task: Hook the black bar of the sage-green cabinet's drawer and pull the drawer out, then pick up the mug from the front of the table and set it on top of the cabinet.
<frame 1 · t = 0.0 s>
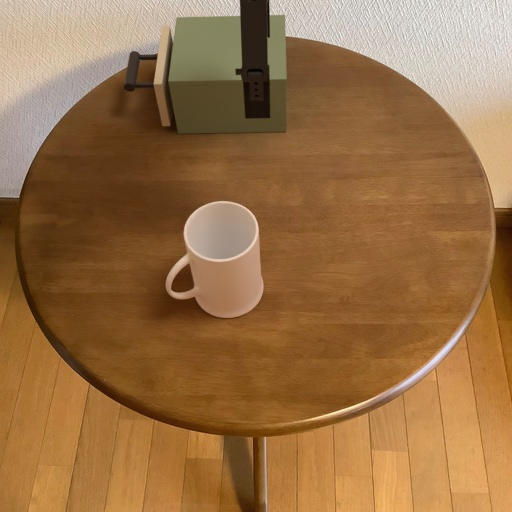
hand: (258, 74, 72), 18 cm above the table, tool pointing down, fingers open, 13 cm apart
mug: (217, 294, 77), on the table
cabinet: (233, 100, 96), on the table
drawer: (194, 75, 92), point 5 cm above the table, slide at 1.0 cm
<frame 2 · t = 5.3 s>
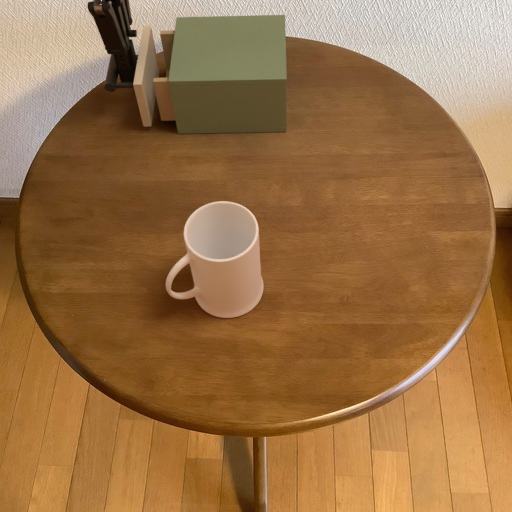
hand: (130, 79, 93), 4 cm above the table, tool pointing down, fingers closed
drawer: (175, 75, 92), point 5 cm above the table, slide at 3.8 cm, touching gripper
everything else where it was.
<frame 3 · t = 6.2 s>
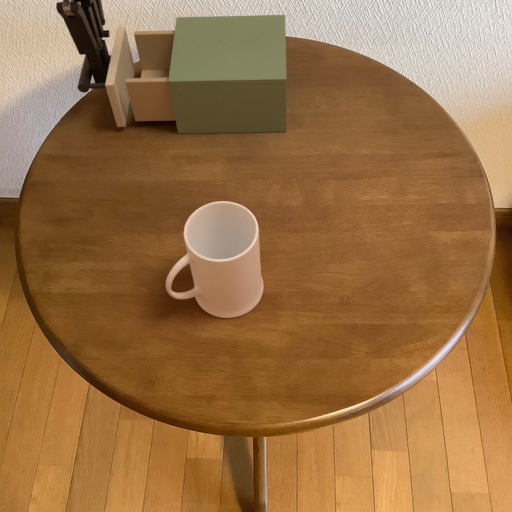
hand: (105, 80, 93), 4 cm above the table, tool pointing down, fingers closed
drawer: (149, 76, 92), point 5 cm above the table, slide at 7.6 cm, touching gripper
everything else where it was.
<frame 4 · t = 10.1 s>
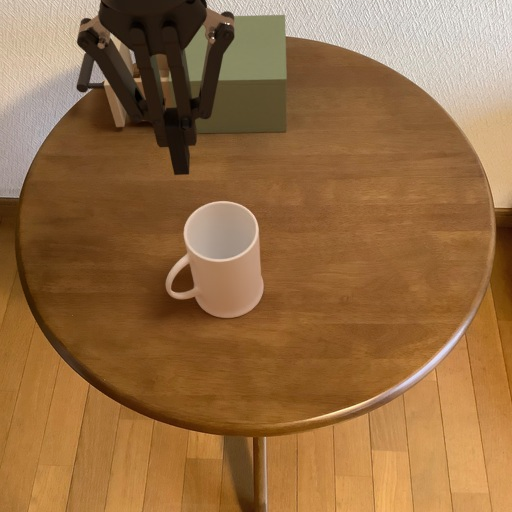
hand: (182, 164, 64), 18 cm above the table, tool pointing down, fingers closed
drawer: (148, 76, 92), point 5 cm above the table, slide at 7.8 cm
everything else where it was.
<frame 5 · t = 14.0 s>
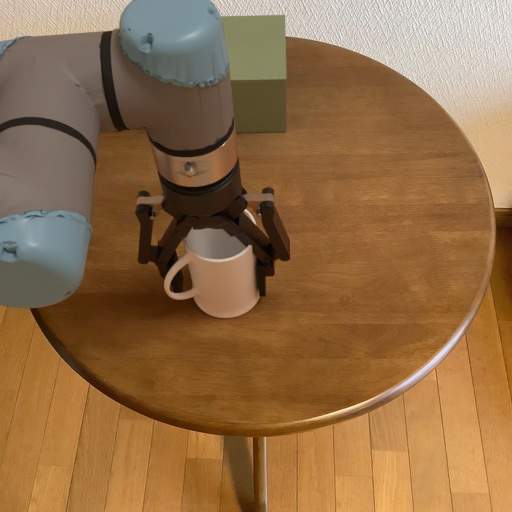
hand: (220, 287, 76), 1 cm above the table, tool pointing down, fingers closed on mug, 9 cm apart
mug: (215, 294, 77), on the table, touching gripper
everything else where it was.
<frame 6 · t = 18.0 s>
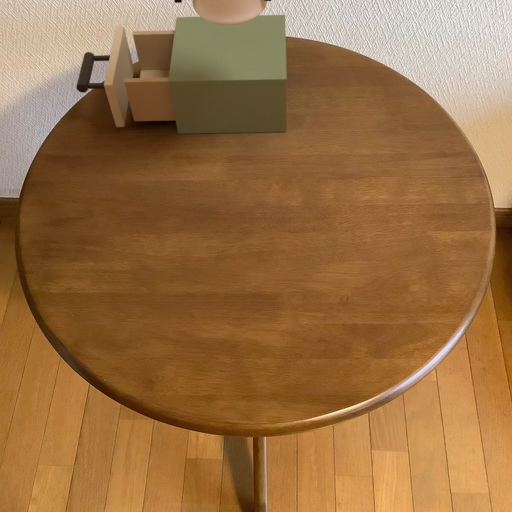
mug: (217, 8, 72), point 22 cm above the table, touching gripper
everything else where it was.
when the fingers open (11 cm above the table, at t = 22.1 s): mug stays where it is, resting on cabinet.
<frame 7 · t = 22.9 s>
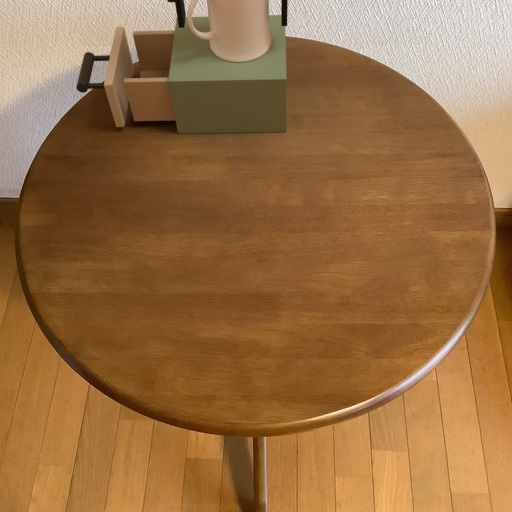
hand: (233, 20, 84), 14 cm above the table, tool pointing down, fingers open, 13 cm apart
mug: (230, 48, 88), point 10 cm above the table, touching cabinet
everything else where it was.
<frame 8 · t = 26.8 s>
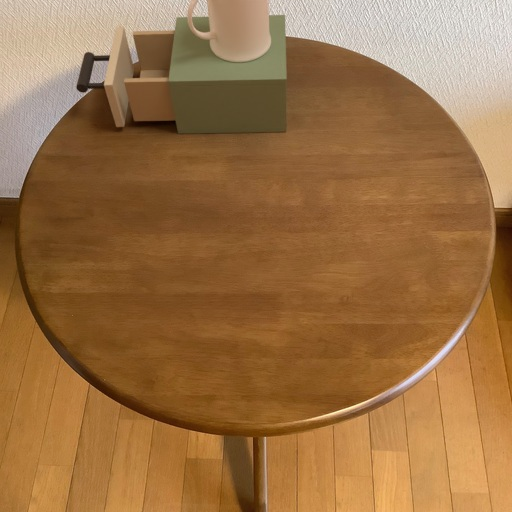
nothing on the table moved.
at the end: drawer slide at 7.8 cm; mug inside the target area on the cabinet (0.2 cm from its centre), point 9.6 cm above the cabinet's base; mug tilted 0° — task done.
